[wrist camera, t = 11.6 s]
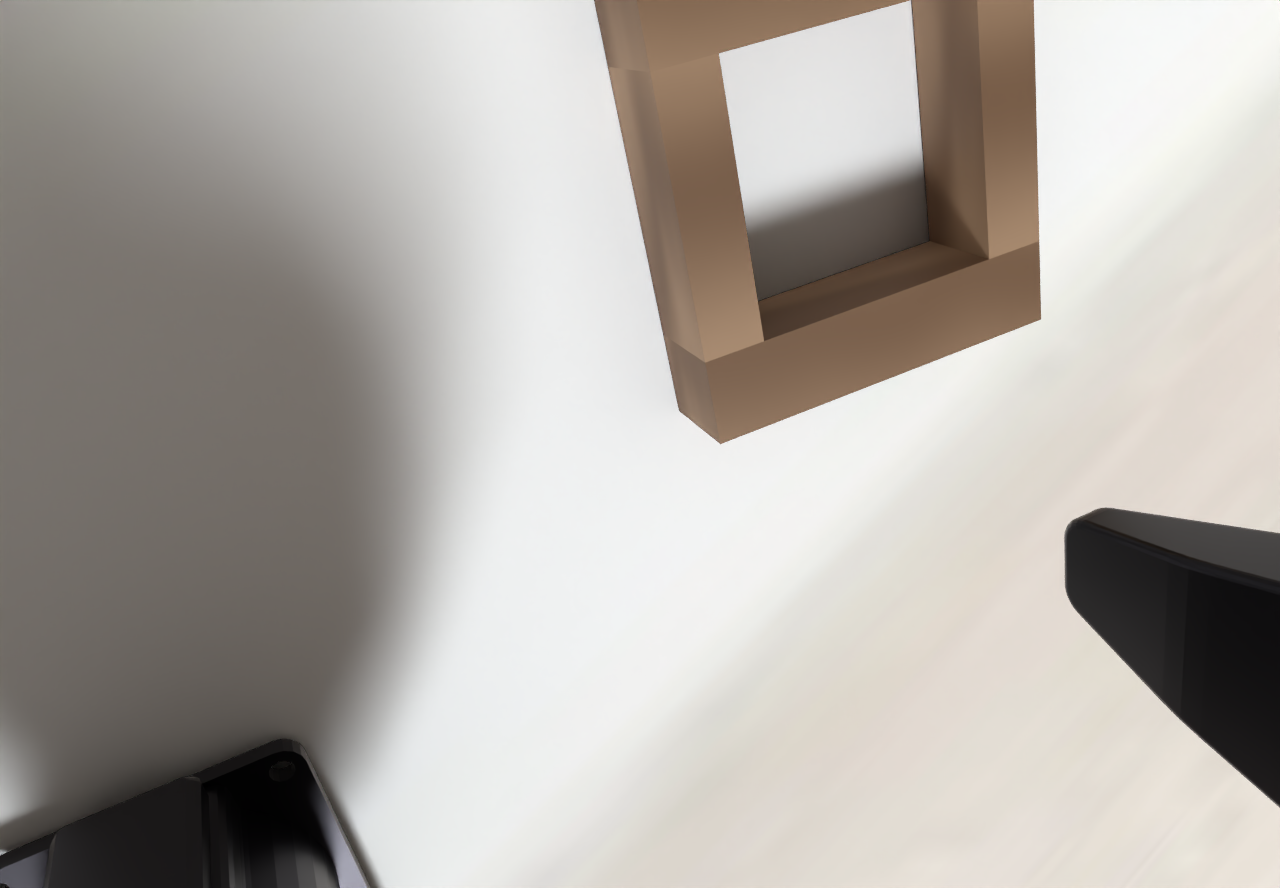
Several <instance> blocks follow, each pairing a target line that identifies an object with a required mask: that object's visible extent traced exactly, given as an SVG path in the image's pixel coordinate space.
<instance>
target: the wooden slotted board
mask: <svg viewBox="0 0 1280 888" xmlns="http://www.w3.org/2000/svg"><path fill="white" fill-rule="evenodd" d="M594 1H595V6H596V11H597V15H598V20H599V25H600V30H601V35H602V40H603V44H604V49H605V54H606V59H607V64H608V69H609V73H610V78H611V83H612V88H613V93H614V98H615V102H616V107H617V112H618V117H619V122H620V127H621V131H622V136H623V141H624V146H625V151H626V156H627V161H628V165H629V170H630V175H631V180H632V185H633V190H634V194H635V199H636V204H637V209H638V214H639V219H640V223H641V228H642V233H643V238H644V243H645V248H646V252H647V257H648V262H649V267H650V272H651V277H652V281H653V286H654V291H655V296H656V301H657V306H658V310H659V315H660V320H661V325H662V330H663V335H664V340H665V344H666V349H667V354H668V359H669V364H670V369H671V373H672V378H673V383H674V388H675V393H676V398H677V402H678V407H679V411H680V412H681V413H683V414H684V415H685V416H686V417H688V418H689V419H690V420H691V421H693V422H694V423H695V424H696V425H697V426H699V427H700V428H701V429H702V430H704V431H705V432H706V433H707V434H709V435H710V436H711V437H712V438H714V439H715V440H716V441H717V442H719V443H720V444H722V443H724V442H727V441H729V440H732V439H735V438H737V437H740V436H742V435H745V434H747V433H750V432H753V431H755V430H758V429H760V428H763V427H765V426H768V425H771V424H773V423H776V422H778V421H781V420H783V419H786V418H789V417H791V416H794V415H796V414H799V413H801V412H804V411H807V410H809V409H812V408H814V407H817V406H819V405H822V404H825V403H827V402H830V401H832V400H835V399H837V398H840V397H843V396H845V395H848V394H850V393H853V392H855V391H858V390H861V389H863V388H866V387H868V386H871V385H873V384H876V383H879V382H881V381H884V380H886V379H889V378H891V377H894V376H897V375H899V374H902V373H904V372H907V371H909V370H912V369H915V368H917V367H920V366H922V365H925V364H927V363H930V362H933V361H935V360H938V359H940V358H943V357H945V356H948V355H951V354H953V353H956V352H958V351H961V350H963V349H966V348H969V347H971V346H974V345H976V344H979V343H981V342H984V341H987V340H989V339H992V338H994V337H997V336H999V335H1002V334H1004V333H1007V332H1010V331H1012V330H1015V329H1017V328H1020V327H1022V326H1025V325H1028V324H1030V323H1033V322H1035V321H1038V320H1040V319H1041V301H1040V258H1039V214H1038V171H1037V128H1036V84H1035V41H1034V0H912V8H913V21H914V35H915V48H916V62H917V76H918V89H919V103H920V116H921V130H922V143H923V157H924V170H925V184H926V197H927V211H928V224H929V238H930V241H929V242H926V243H923V244H920V245H917V246H914V247H911V248H909V249H906V250H903V251H900V252H897V253H894V254H892V255H889V256H886V257H883V258H880V259H877V260H875V261H872V262H869V263H866V264H863V265H860V266H857V267H855V268H852V269H849V270H846V271H843V272H840V273H838V274H835V275H832V276H829V277H826V278H823V279H821V280H818V281H815V282H812V283H809V284H806V285H804V286H801V287H798V288H795V289H792V290H789V291H786V292H784V293H781V294H778V295H775V296H772V297H769V298H767V299H764V300H761V301H758V299H757V293H756V287H755V280H754V274H753V268H752V261H751V255H750V249H749V243H748V236H747V230H746V224H745V217H744V211H743V205H742V198H741V192H740V186H739V179H738V173H737V167H736V160H735V154H734V148H733V141H732V135H731V129H730V122H729V116H728V110H727V104H726V97H725V91H724V85H723V78H722V72H721V66H720V59H719V53H721V52H725V51H729V50H732V49H736V48H740V47H743V46H747V45H750V44H754V43H758V42H761V41H765V40H768V39H772V38H776V37H779V36H783V35H786V34H790V33H794V32H797V31H801V30H805V29H808V28H812V27H815V26H819V25H823V24H826V23H830V22H833V21H837V20H841V19H844V18H848V17H851V16H855V15H859V14H862V13H866V12H870V11H873V10H877V9H880V8H884V7H888V6H891V5H895V4H898V3H902V2H906V1H909V0H594Z"/></svg>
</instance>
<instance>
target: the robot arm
mask: <svg viewBox="0 0 1280 888" xmlns="http://www.w3.org/2000/svg"><path fill="white" fill-rule="evenodd" d="M1064 545H1065V589H1066V593H1067V596H1068V598H1069V600H1070V602H1071V604H1072V605H1073V607H1074V608H1075V610H1076V611H1077V612H1078V613H1079V614H1080V615H1081V617H1082V618H1083V619H1084V620H1085V621H1086V622H1087V623H1088V624H1089V625H1090V626H1091V627H1092V628H1093V629H1094V630H1095V631H1096V632H1097V633H1098V634H1099V636H1100V637H1101V638H1102V639H1103V640H1104V641H1105V642H1106V643H1107V644H1108V645H1109V646H1110V647H1111V648H1112V649H1113V650H1114V651H1115V652H1116V653H1117V655H1118V656H1119V657H1120V658H1121V659H1122V660H1123V661H1124V662H1125V663H1126V664H1127V665H1128V666H1129V667H1130V668H1131V669H1132V670H1133V671H1134V672H1135V674H1136V675H1137V676H1138V677H1139V678H1140V679H1141V680H1142V681H1143V682H1144V683H1145V684H1146V685H1147V686H1148V687H1149V688H1150V689H1151V690H1152V691H1153V693H1154V694H1155V695H1156V696H1157V697H1158V698H1159V699H1160V700H1161V701H1162V702H1163V703H1164V704H1165V705H1166V706H1167V707H1168V708H1169V709H1170V710H1171V711H1172V712H1173V713H1174V714H1175V715H1176V716H1177V717H1178V718H1179V719H1180V720H1181V721H1182V722H1183V723H1184V724H1185V725H1187V726H1188V727H1189V728H1190V729H1191V730H1192V731H1193V732H1194V733H1195V734H1196V735H1198V736H1199V737H1200V738H1201V739H1202V740H1203V741H1204V742H1205V743H1207V744H1208V745H1209V746H1210V747H1211V748H1212V749H1213V750H1215V751H1216V752H1217V753H1218V754H1219V755H1220V756H1221V757H1223V758H1224V759H1225V760H1226V761H1227V762H1228V763H1229V764H1231V765H1232V766H1233V767H1234V768H1235V769H1236V770H1237V771H1239V772H1240V773H1241V774H1242V775H1243V776H1244V777H1245V778H1247V779H1248V780H1249V781H1250V782H1251V783H1252V784H1253V785H1255V786H1256V787H1257V788H1258V789H1259V790H1260V791H1261V792H1263V793H1264V794H1265V795H1266V796H1267V797H1268V798H1270V799H1271V800H1272V801H1273V802H1274V803H1275V804H1276V805H1278V806H1279V807H1280V533H1274V532H1267V531H1261V530H1254V529H1247V528H1241V527H1234V526H1227V525H1221V524H1214V523H1207V522H1201V521H1194V520H1187V519H1181V518H1174V517H1167V516H1161V515H1154V514H1147V513H1141V512H1134V511H1128V510H1121V509H1114V508H1100V509H1096V510H1094V511H1092V512H1090V513H1087V514H1085V515H1083V516H1081V517H1079V518H1076V519H1074V520H1073V521H1071V522H1070V523H1069V524H1068V526H1067V528H1066V530H1065V536H1064ZM280 761H289V762H291V765H289V766H288V767H286V768H284V769H279V770H278V769H274V768H272V766H273V765H274V764H276V763H277V762H280ZM0 883H2V884H6V885H7V886H8V887H6V888H371V887H370V885H369V883H368V881H367V879H366V877H365V875H364V873H363V871H362V868H361V866H360V864H359V862H358V860H357V858H356V856H355V854H354V852H353V850H352V847H351V845H350V843H349V841H348V839H347V837H346V835H345V833H344V831H343V829H342V827H341V824H340V822H339V820H338V818H337V816H336V814H335V812H334V810H333V808H332V806H331V803H330V801H329V799H328V797H327V795H326V793H325V791H324V789H323V787H322V785H321V783H320V780H319V778H318V776H317V774H316V772H315V770H314V768H313V766H312V764H311V762H310V760H309V757H308V755H307V753H306V751H305V749H304V748H303V747H302V745H301V744H300V743H298V742H296V741H294V740H291V739H280V740H276V741H272V742H270V743H267V744H265V745H262V746H260V747H258V748H255V749H253V750H250V751H248V752H246V753H243V754H241V755H239V756H236V757H234V758H231V759H229V760H227V761H224V762H222V763H220V764H217V765H215V766H212V767H210V768H208V769H205V770H203V771H201V772H198V773H196V774H193V775H191V776H189V777H182V778H179V779H177V780H175V781H172V782H170V783H168V784H165V785H163V786H160V787H158V788H156V789H153V790H151V791H148V792H146V793H144V794H141V795H139V796H137V797H134V798H132V799H129V800H127V801H125V802H122V803H120V804H118V805H115V806H113V807H110V808H108V809H106V810H103V811H101V812H98V813H96V814H94V815H91V816H89V817H87V818H84V819H82V820H79V821H77V822H75V823H72V824H70V825H67V826H65V827H63V828H61V829H59V830H58V831H57V832H55V833H53V834H51V835H48V836H46V837H43V838H41V839H39V840H36V841H34V842H32V843H29V844H27V845H24V846H22V847H20V848H17V849H15V850H13V851H10V852H8V853H5V854H3V855H1V856H0Z"/></svg>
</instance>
